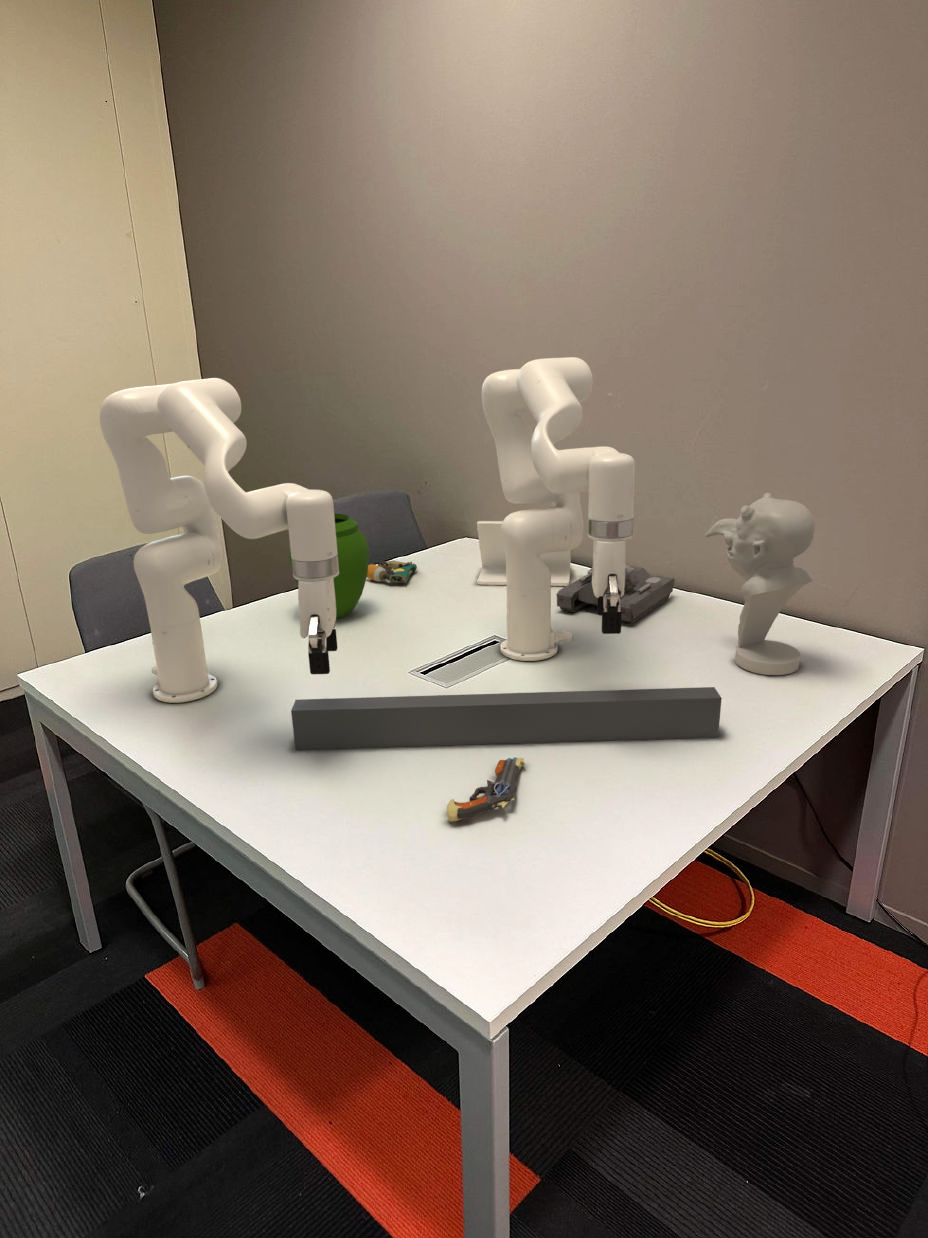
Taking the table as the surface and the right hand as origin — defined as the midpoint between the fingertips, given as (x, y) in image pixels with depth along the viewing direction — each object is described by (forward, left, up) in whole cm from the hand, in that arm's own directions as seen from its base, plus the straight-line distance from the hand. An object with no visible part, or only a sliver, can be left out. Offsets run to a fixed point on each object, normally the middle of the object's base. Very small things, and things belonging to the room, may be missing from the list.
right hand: (608, 623), depth 150 cm
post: (+19, +1, -19) cm, 27 cm away
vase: (+44, -72, -19) cm, 86 cm away
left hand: (+49, -6, -4) cm, 50 cm away
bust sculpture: (-39, -18, -19) cm, 47 cm away
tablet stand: (-11, -88, -19) cm, 91 cm away
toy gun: (+27, +18, -19) cm, 38 cm away
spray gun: (+25, -98, -19) cm, 103 cm away
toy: (-26, -58, -19) cm, 66 cm away
